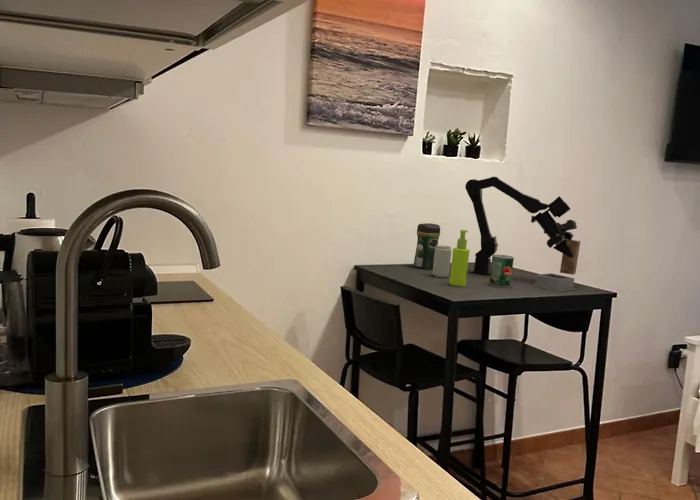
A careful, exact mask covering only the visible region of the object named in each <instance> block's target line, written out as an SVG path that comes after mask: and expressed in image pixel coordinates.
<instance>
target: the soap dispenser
mask: <svg viewBox="0 0 700 500" xmlns="http://www.w3.org/2000/svg"><path fill="white" fill-rule="evenodd" d="M459 233H460V234H459V235H460V236H459V238H458V239H457V242H456V247H454V248H452V253H451V262H450V272H449V282H448V283H449V285H451V286H454V287H466V285H467V275H468V268H469V267H468V266H469V258H470V249H469V248H467V245H468V244H467V243H468V240H467V239H466V233H468V230H466V229H461V230H460V231H459Z"/></svg>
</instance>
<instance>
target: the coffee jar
mask: <svg viewBox="0 0 700 500" xmlns="http://www.w3.org/2000/svg"><path fill="white" fill-rule="evenodd" d="M416 235H417V236H416V237H417V243H416V250H415V254H414V259H413V267H415V268H417V269H420V268H421V269H423V270H425V269H426V270H428V269H429V270H430V269H431V270H433V263H434V253H435V248H436V245H439V238H440V237H441V226H440V225H439V224H436V223H426V222H425V223H418V225H417V229H416Z"/></svg>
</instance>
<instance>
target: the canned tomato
mask: <svg viewBox="0 0 700 500" xmlns="http://www.w3.org/2000/svg"><path fill="white" fill-rule="evenodd" d="M514 259H515V257H513V256H511V255H506V254H505V255H504V254H493V255H492V256H491V266H490V274H489V281H488V284H489V286H493V287H498V288H510V287H511V283H512V275H513V267H514V266H513V265H514Z"/></svg>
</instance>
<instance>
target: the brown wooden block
mask: <svg viewBox="0 0 700 500" xmlns="http://www.w3.org/2000/svg"><path fill="white" fill-rule="evenodd" d="M567 245H568V247H569V249H570V251H571V252H572V254H573V257H572V258H570V257H568V256H567V255H565V254H563V253H561V254H562V256H561V261H560V262H561V263H560V269H559V273H561V274H566V275H572V276H574V275H576V274H577V273H576V272H577V268H578V267H577V265H578V259H579V252H580V245H581V240H574V239H572V240H569V239H567Z"/></svg>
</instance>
